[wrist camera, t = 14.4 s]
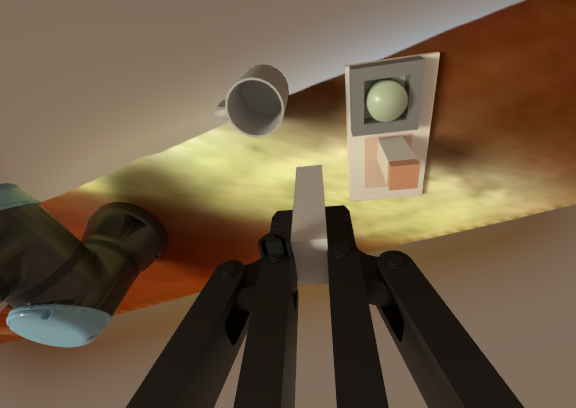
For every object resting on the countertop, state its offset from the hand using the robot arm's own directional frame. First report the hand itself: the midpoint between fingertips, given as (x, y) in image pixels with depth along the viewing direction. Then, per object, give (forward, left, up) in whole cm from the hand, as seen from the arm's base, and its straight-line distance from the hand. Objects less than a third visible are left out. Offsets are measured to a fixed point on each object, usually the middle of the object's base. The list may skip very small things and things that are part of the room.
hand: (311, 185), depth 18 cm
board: (+11, -10, -29) cm, 32 cm away
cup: (-8, -1, -29) cm, 30 cm away
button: (+10, -3, -27) cm, 29 cm away
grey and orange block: (+11, -11, -28) cm, 31 cm away
